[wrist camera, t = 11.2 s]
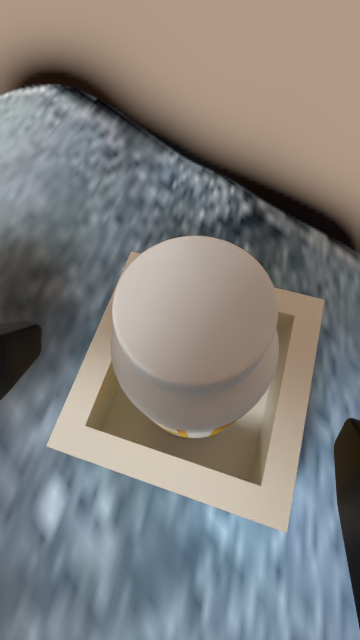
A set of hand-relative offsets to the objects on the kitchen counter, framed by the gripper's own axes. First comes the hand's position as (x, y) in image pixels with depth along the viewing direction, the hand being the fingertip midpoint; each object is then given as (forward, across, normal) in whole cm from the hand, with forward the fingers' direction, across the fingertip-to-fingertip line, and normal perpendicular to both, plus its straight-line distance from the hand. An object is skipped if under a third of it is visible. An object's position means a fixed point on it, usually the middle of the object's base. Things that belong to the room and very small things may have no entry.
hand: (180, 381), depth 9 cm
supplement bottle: (+6, 0, +4) cm, 8 cm away
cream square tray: (+7, 0, +5) cm, 8 cm away
